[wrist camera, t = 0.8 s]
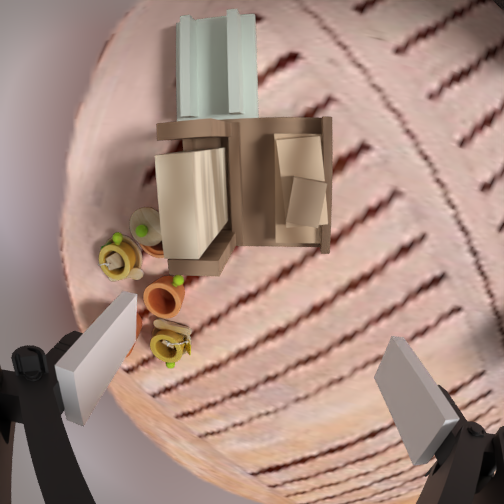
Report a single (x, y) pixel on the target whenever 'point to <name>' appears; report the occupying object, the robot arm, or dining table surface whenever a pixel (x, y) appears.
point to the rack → (264, 184)
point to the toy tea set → (156, 294)
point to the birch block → (191, 200)
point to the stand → (216, 67)
